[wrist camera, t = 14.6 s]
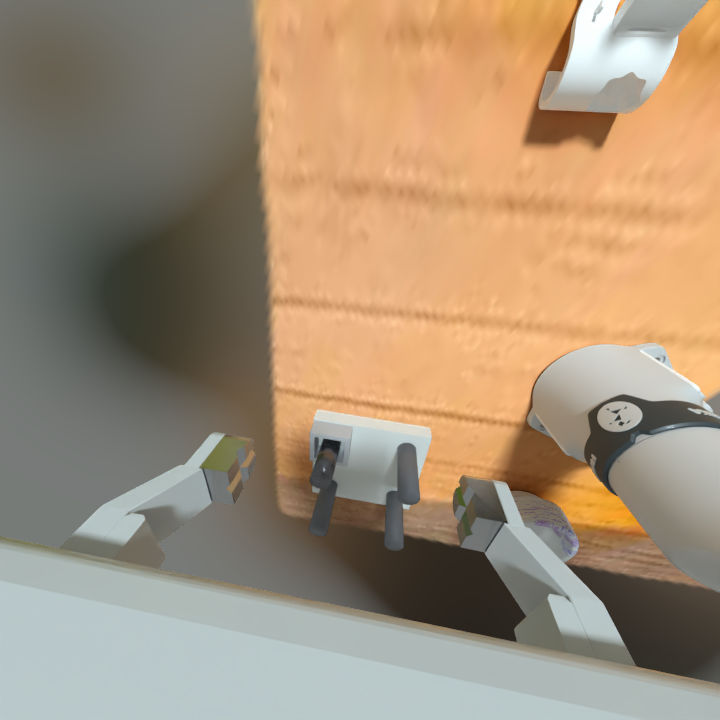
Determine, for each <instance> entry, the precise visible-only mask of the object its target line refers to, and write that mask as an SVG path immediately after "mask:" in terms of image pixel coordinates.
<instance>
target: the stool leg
mask: <svg viewBox="0 0 720 720" xmlns="http://www.w3.org/2000/svg"><path fill="white" fill-rule="evenodd" d="M341 442H342V441H336V440H330V439H324V438H323V441H322V444H321V447H320V450H319V453H318V456H317V459H316V462H315V465H314V468H313V471H312V474H311V477H310V483H311V484H312V485H313V486H314V487H316V488H319V489H327V488H329V487H330V486H331V482H332V478H333V474H334V470H335V466H336V462H337V458H338V454H339V450H340V446H341Z"/></svg>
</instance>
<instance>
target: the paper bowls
mask: <svg viewBox="0 0 720 720" xmlns="http://www.w3.org/2000/svg"><path fill="white" fill-rule="evenodd" d="M510 492H511V494H512V497H513V499H514V501H515V504H516V506H517V509H518V511H519V513H520V516H521V518H522V521H523V523H524V526H525V527H528V528H530V529H531V530H532V531H533V532H534V533H535V534H536V535H537V536H538V537H539V538H540V539H541V540H542V541H543V542H544V543H545V544H546V545H547V546H548V547H549V548H550V549H551V550H552V551H553V552H554V554H555V555H556V556H557V557H558V558H559V559H560V560H561V561H562V562H563V563H564V562H566V561H568V560H569V559H571V558H572V557H573V556H574V555H575V554H576V553H577V551H578V548H579V542H578V539H577V536H576V534H575V532H574V530H573V529H572V527H571V525H570V523H569V521H568V519H567V517H566V515H565V514H564V512H563V511H562V510H561V508H560V507H558V506H557V505H556V504H554V503H552V502H550V501H548V500H545V499H542V498H539V497H537V496H536V495H534V494H531V493H528V492H524V491H510Z"/></svg>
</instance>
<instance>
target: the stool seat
mask: <svg viewBox="0 0 720 720" xmlns="http://www.w3.org/2000/svg"><path fill="white" fill-rule="evenodd" d="M323 438H324V439H330V440H336V441H342V442H341V446H340V450H339V454H338V458H337V462H336V466H335V470H334V474H333V478H332V482H331V486H330V487H329V488H327V489H319V488H316V487H314V486H313V485H312V492H315V493H319V494H318V498H317V501H316V505H315V508H314V512H313V516H312V519H311V523H310V526H309V531H310V533H312V534H313V535H316V536H325V535H326V534H327V531H328V526H329V522H330V518H331V513H332V509H333V504H334V500H335V496H337V497H343V498H348V499H354V500H359V501H365V502H370V503H376V504H381V505H386V515H385V540H384V545H385V547H386V548H388V549H390V550H394V551H397V550H401V549H403V546H404V545H403V544H404V543H403V509H409V508H410V505H413V504H416V503H418V502H419V500H420V492H419V477H420V473H421V470H422V467H423V464H424V461H425V458H426V455H427V452H428V449H429V445H430V442H431V439H432V436H431V429H430V428H429V427H423V426H417V425H411V424H405V423H398V422H392V421H386V420H380V419H374V418H368V417H361V416H355V415H349V414H343V413H337V412H331V411H324V410H317V412H316V415H315V417H314V423H313V426H312V428H311V431H310V461H313V468H314V465H315V462H316V459H317V456H318V453H319V450H320V447H321V444H322V441H323Z"/></svg>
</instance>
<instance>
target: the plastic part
mask: <svg viewBox="0 0 720 720" xmlns="http://www.w3.org/2000/svg"><path fill="white" fill-rule="evenodd" d="M707 1H708V0H626V1H625V2H624V4H623V5H622V7H621V8H620V10H619V11H618V13H617V14H616V16H615V17H614V15H615V12H616V9H617V6H618V4H619V2H620V0H582V1H581V4H580V6H579V8H578V10H577V13H576V15H575V18H574V21H573V24H572V28H571V37H570V45H569V52H568V56H567V59H566V62H565V65H564V68H563V71H548V72H547V74H546V77H545V81H544V84H543V87H542V91H541V94H540V98H539V109H541V110H560V111H582V112H604V113H624V114H627V113H631V112H633V111H635V110H636V109H638V108H639V107H640V106H641V105H642V104H643V103H644V102H645V101H646V100H647V99H648V98H649V97H650V95H651V94H652V93H653V92H654V90H655V89H656V87H657V86H658V84H659V83H660V81H661V80H662V78H663V76H664V74H665V73H666V71H667V69H668V67H669V65H670V62H671V60H672V58H673V56H674V53H675V50H676V47H677V43H678V35H679V33H680V32H681V31H682V30H683V29H684V28H685V26H686V25H687V24H688V23H689V22H690V21H691V20H692V18H693V17H694V16H695V15H696V14H697V13H698V12H699V10H700V9H701V8H702V7H703V6H704V5H705V4H706V2H707Z"/></svg>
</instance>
